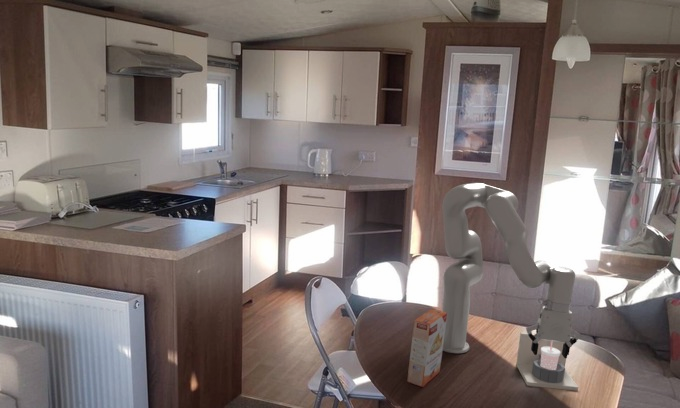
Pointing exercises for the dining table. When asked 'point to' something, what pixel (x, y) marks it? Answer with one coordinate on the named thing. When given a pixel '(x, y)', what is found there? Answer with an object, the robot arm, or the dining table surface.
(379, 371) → the dining table surface
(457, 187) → the robot arm
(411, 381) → the cracker box
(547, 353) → the beverage cup
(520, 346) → the bracket
